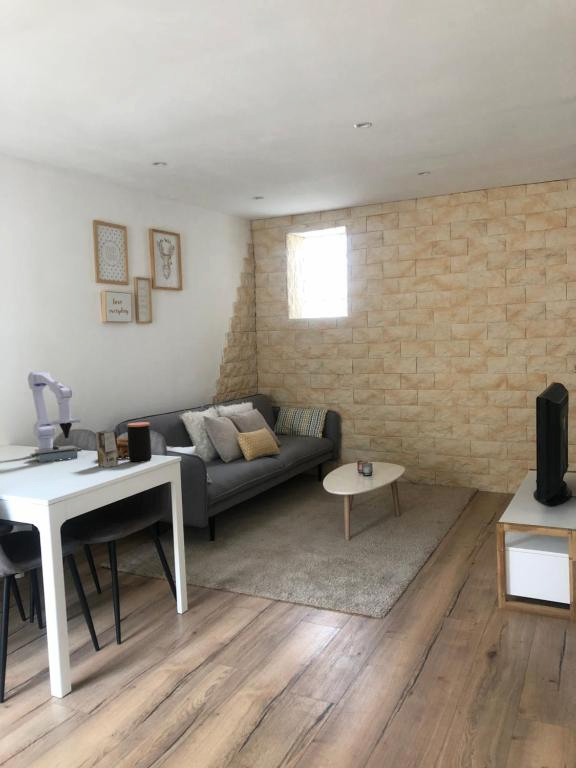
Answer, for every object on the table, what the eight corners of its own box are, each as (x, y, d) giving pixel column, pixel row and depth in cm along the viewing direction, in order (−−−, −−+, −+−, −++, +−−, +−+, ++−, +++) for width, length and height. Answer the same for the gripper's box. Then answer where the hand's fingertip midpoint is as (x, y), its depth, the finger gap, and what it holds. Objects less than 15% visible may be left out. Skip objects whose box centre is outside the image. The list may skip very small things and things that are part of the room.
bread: (106, 461, 308) (105, 441, 308) (102, 458, 318) (101, 438, 317) (144, 456, 317) (143, 437, 316) (139, 453, 326) (138, 434, 325)
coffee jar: (154, 458, 310) (152, 421, 309) (147, 462, 299) (145, 424, 298) (133, 458, 311) (131, 422, 310) (125, 462, 300) (123, 425, 299)
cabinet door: (34, 451, 323) (33, 447, 323) (71, 446, 333) (71, 443, 332) (38, 453, 310) (38, 449, 310) (77, 449, 320) (77, 445, 320)
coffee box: (119, 465, 294) (117, 431, 293) (106, 467, 290) (103, 432, 289) (110, 463, 301) (108, 429, 300) (97, 465, 297) (95, 431, 296)
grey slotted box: (29, 459, 322) (28, 452, 322) (77, 453, 334) (77, 446, 334) (33, 463, 310) (33, 455, 309) (83, 457, 322) (83, 449, 321)
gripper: (51, 413, 313) (53, 440, 314) (81, 410, 320) (82, 437, 321) (48, 412, 319) (50, 438, 320) (78, 409, 326) (79, 435, 327)
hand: (66, 437), depth 321 cm, fingers closed
